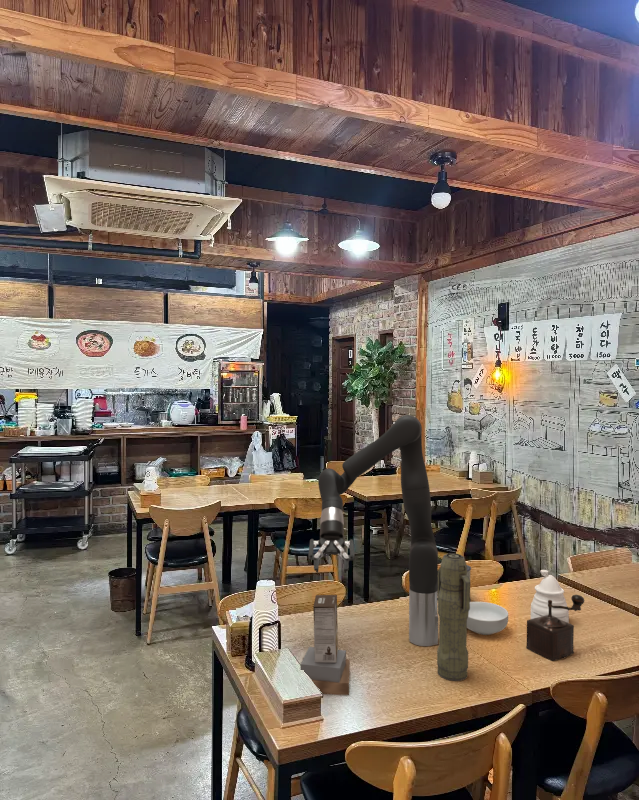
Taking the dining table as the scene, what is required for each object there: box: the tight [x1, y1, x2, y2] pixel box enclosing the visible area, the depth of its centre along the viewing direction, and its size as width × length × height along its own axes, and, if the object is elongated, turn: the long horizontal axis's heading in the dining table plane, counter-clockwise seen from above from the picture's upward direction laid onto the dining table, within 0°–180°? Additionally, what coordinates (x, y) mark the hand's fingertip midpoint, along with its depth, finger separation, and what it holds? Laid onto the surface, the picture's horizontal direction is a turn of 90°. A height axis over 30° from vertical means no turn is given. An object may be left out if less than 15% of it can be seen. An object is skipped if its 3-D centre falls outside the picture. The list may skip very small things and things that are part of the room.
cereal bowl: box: [467, 601, 509, 636], centre depth 202 cm, size 17×17×7 cm
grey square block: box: [299, 646, 347, 683], centre depth 165 cm, size 11×11×4 cm
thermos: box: [436, 552, 471, 682], centre depth 171 cm, size 9×12×35 cm
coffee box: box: [312, 594, 339, 663], centre depth 166 cm, size 9×6×16 cm
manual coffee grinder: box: [525, 594, 585, 662], centre depth 187 cm, size 16×11×18 cm
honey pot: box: [530, 569, 570, 623], centre depth 210 cm, size 13×13×18 cm
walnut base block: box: [301, 658, 351, 696], centre depth 166 cm, size 14×14×4 cm
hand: (331, 571), depth 177 cm, fingers open, 8 cm apart
